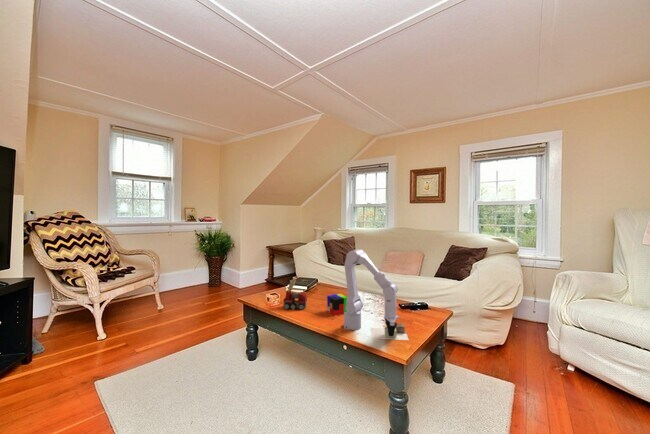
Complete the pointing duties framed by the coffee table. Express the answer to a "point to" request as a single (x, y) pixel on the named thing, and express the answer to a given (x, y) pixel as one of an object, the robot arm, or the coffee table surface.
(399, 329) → the walnut brick
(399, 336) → the board
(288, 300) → the toy fire truck
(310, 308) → the coffee table surface
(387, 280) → the robot arm
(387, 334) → the sage brick
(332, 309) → the puzzle toy
